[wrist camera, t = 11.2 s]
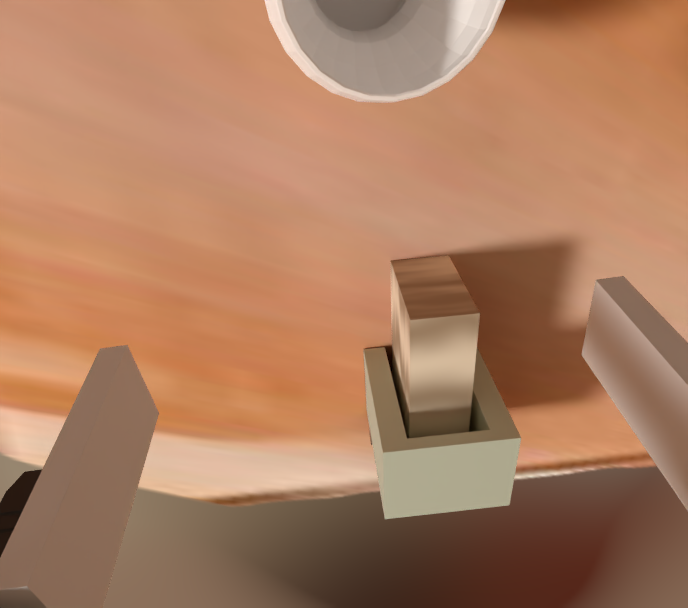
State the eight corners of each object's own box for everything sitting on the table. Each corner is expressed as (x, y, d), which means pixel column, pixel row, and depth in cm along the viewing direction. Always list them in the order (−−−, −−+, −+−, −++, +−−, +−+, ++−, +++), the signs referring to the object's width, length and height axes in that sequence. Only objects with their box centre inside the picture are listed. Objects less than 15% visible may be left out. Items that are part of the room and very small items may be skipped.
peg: (390, 260, 45) (410, 320, 37) (448, 254, 45) (479, 313, 37) (392, 384, 52) (409, 454, 45) (441, 378, 52) (467, 448, 45)
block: (363, 349, 49) (382, 452, 39) (472, 338, 50) (521, 437, 39) (366, 410, 54) (384, 519, 43) (467, 400, 54) (509, 505, 43)
